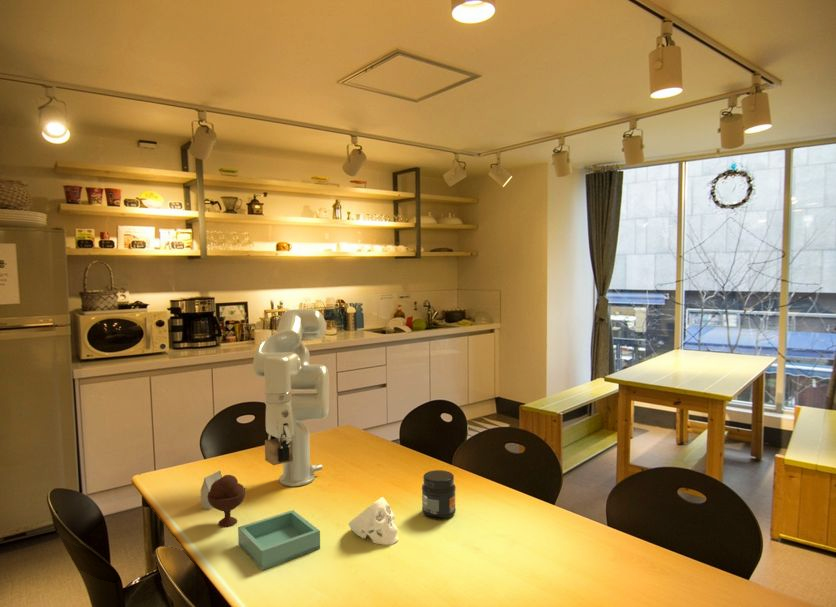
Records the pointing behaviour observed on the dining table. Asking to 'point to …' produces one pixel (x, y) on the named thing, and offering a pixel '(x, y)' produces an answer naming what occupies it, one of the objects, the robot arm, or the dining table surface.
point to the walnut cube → (276, 451)
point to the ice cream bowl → (226, 497)
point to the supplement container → (438, 495)
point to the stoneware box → (278, 539)
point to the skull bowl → (376, 523)
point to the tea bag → (208, 489)
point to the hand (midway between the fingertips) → (278, 457)
